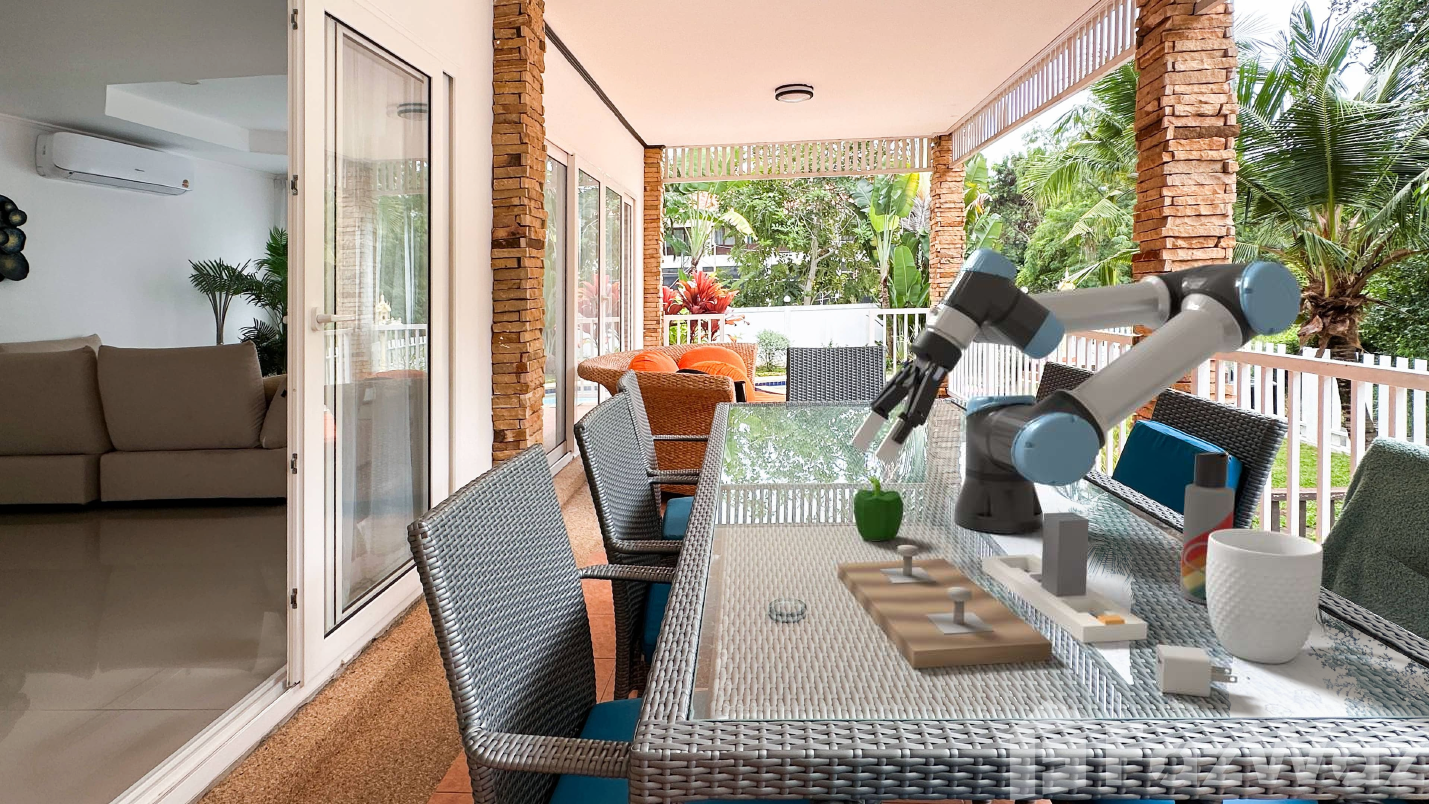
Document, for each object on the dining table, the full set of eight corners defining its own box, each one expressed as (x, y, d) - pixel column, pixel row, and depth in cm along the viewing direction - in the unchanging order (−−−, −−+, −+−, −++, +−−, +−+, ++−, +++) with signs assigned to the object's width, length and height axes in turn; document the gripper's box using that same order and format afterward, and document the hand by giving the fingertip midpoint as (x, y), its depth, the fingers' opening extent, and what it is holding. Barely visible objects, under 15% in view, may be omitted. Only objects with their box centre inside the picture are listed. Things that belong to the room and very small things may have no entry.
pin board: (837, 576, 128) (838, 536, 127) (943, 571, 129) (944, 532, 129) (913, 668, 96) (914, 615, 95) (1051, 659, 98) (1053, 608, 97)
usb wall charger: (1154, 678, 93) (1156, 642, 93) (1227, 685, 91) (1230, 649, 91) (1162, 694, 89) (1164, 657, 89) (1238, 702, 87) (1241, 664, 87)
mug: (1260, 622, 108) (1267, 519, 107) (1357, 654, 99) (1367, 542, 97) (1180, 644, 102) (1186, 535, 100) (1275, 681, 92) (1284, 560, 90)
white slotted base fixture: (982, 569, 130) (984, 490, 129) (1033, 567, 131) (1035, 488, 130) (1082, 642, 103) (1087, 543, 101) (1146, 639, 103) (1151, 540, 102)
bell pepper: (903, 546, 143) (904, 486, 142) (852, 543, 144) (852, 484, 143) (902, 532, 151) (903, 475, 150) (854, 530, 153) (855, 474, 151)
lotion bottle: (1210, 608, 113) (1219, 456, 111) (1170, 595, 118) (1178, 449, 116) (1237, 600, 116) (1246, 452, 114) (1196, 588, 121) (1205, 446, 119)
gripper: (898, 327, 148) (830, 431, 148) (954, 326, 124) (872, 452, 124) (933, 351, 149) (865, 455, 149) (996, 355, 125) (914, 479, 125)
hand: (868, 454), depth 137 cm, fingers open, 13 cm apart
